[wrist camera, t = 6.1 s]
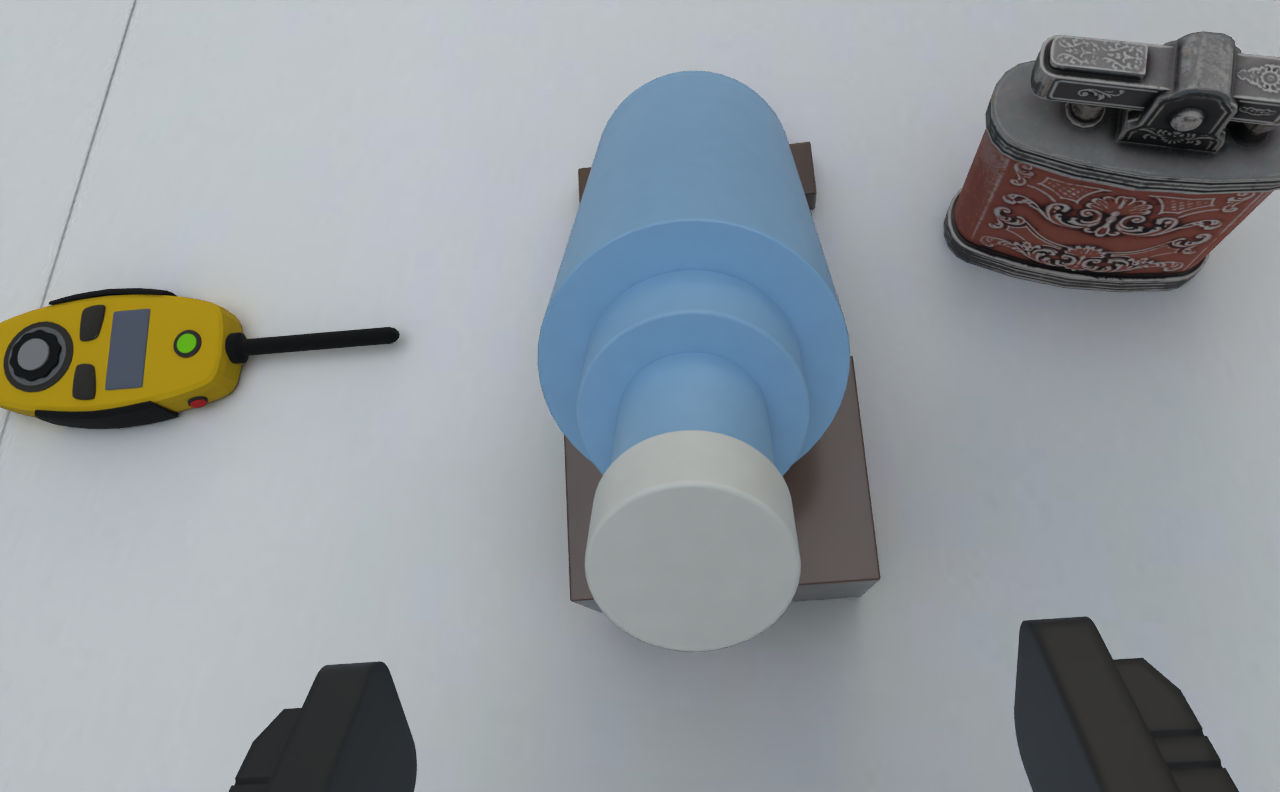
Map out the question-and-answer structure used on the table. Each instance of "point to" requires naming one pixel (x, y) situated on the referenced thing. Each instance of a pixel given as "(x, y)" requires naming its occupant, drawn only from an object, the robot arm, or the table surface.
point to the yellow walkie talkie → (135, 356)
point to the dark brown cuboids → (817, 482)
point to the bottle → (693, 360)
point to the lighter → (1119, 162)
